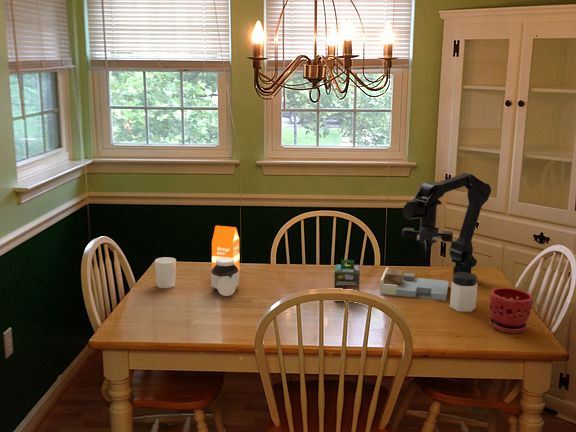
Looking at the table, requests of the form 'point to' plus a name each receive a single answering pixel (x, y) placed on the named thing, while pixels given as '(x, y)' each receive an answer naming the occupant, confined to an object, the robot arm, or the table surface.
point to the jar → (463, 292)
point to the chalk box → (347, 275)
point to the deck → (416, 288)
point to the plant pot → (510, 309)
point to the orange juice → (225, 244)
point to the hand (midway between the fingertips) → (425, 256)
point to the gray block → (409, 277)
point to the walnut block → (393, 277)
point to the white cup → (165, 272)
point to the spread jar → (225, 276)
